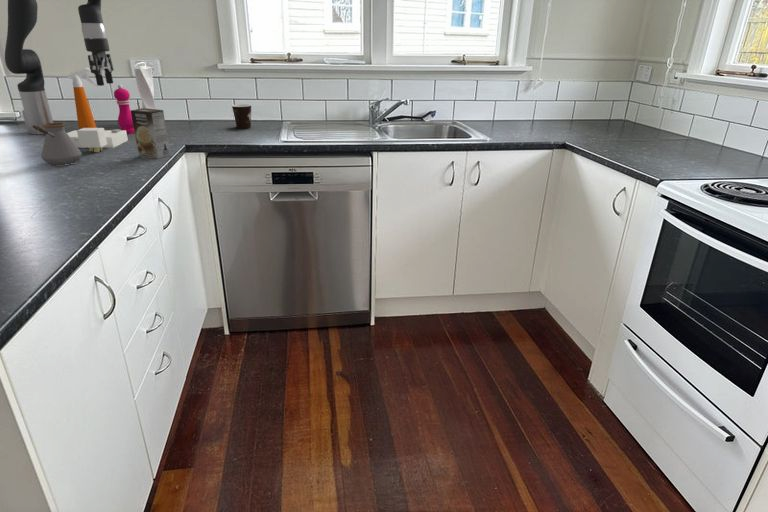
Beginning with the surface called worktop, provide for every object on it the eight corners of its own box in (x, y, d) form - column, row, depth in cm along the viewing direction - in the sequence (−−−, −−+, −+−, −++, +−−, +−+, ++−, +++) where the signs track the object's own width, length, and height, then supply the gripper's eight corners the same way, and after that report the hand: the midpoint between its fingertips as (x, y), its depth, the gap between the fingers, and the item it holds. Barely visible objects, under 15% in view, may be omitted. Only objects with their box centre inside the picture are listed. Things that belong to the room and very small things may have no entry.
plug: (73, 152, 180) (67, 130, 176) (80, 149, 185) (75, 127, 181) (101, 152, 180) (97, 130, 177) (108, 149, 185) (103, 127, 182)
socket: (58, 147, 187) (55, 134, 185) (76, 140, 200) (74, 128, 198) (113, 147, 188) (110, 134, 186) (128, 140, 201) (125, 128, 199)
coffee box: (137, 156, 176) (128, 110, 169) (151, 153, 181) (142, 107, 175) (158, 159, 173) (150, 111, 166) (171, 155, 179) (163, 109, 172)
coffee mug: (245, 125, 237) (242, 103, 233) (257, 127, 232) (255, 105, 228) (225, 128, 228) (222, 106, 224) (237, 130, 224) (234, 108, 220)
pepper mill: (133, 134, 213) (124, 85, 205) (116, 134, 213) (106, 85, 205) (141, 131, 219) (132, 83, 211) (125, 131, 219) (115, 83, 211)
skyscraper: (145, 124, 237) (134, 62, 226) (163, 124, 238) (152, 62, 226) (139, 127, 229) (127, 63, 218) (157, 127, 230) (147, 63, 219)
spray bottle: (108, 132, 217) (94, 68, 206) (80, 134, 211) (64, 68, 200) (105, 129, 222) (92, 67, 211) (78, 131, 217) (63, 67, 206)
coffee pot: (51, 160, 170) (39, 115, 163) (88, 158, 172) (77, 114, 166) (24, 176, 151) (10, 126, 144) (66, 174, 153) (54, 125, 147)
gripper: (92, 37, 185) (102, 83, 191) (75, 37, 172) (86, 86, 178) (113, 37, 185) (123, 82, 192) (97, 37, 172) (108, 86, 179)
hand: (105, 84), depth 185 cm, fingers open, 8 cm apart
